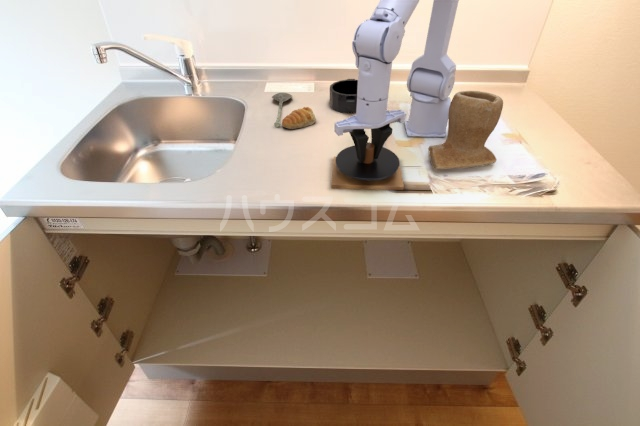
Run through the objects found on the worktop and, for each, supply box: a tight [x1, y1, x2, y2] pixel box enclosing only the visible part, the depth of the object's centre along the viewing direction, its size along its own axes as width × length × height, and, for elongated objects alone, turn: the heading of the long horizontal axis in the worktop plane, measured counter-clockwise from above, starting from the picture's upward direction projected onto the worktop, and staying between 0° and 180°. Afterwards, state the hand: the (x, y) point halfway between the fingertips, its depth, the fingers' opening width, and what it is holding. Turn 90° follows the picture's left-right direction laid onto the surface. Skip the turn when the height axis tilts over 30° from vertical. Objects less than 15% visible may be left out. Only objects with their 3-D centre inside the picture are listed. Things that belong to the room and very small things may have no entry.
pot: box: [329, 78, 358, 114], centre depth 96 cm, size 13×18×5 cm
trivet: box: [330, 156, 405, 191], centre depth 70 cm, size 15×11×1 cm
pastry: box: [281, 106, 317, 130], centre depth 88 cm, size 9×7×4 cm
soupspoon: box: [271, 92, 293, 128], centre depth 96 cm, size 22×3×7 cm
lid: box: [335, 142, 400, 181], centre depth 67 cm, size 14×14×5 cm
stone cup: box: [428, 90, 504, 170], centre depth 69 cm, size 15×12×15 cm
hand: (367, 158), depth 68 cm, fingers closed on lid, 2 cm apart
